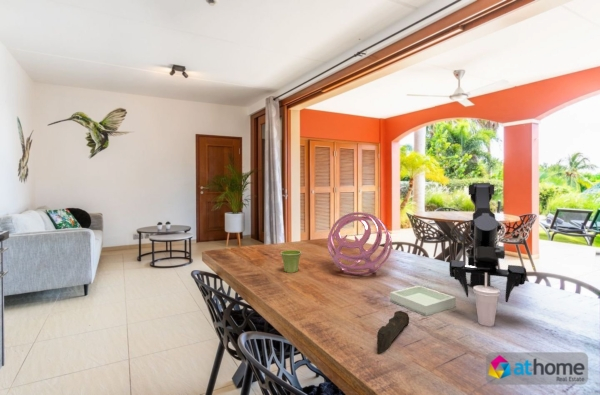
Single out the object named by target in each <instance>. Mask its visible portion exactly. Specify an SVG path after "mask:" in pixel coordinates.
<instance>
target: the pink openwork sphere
mask: <svg viewBox="0 0 600 395" xmlns="http://www.w3.org/2000/svg"><path fill="white" fill-rule="evenodd" d="M356 221H358V222H360V223H361V224H362V225H363V227H364V232H363V235H362V237H360V238H359V239H358V238H357V236H356V235H354V240H355V241H354V242H350V241H347V240H346V239H347V238H348V234H346V235H344V237H342V236H341V230H342V228H344V227H346V225H348V224H350V223H353V222H356ZM368 221H369V222H373V224H374V226H375V228H376V238H375V241H374V243H373V244H372V246H371V247H370V248H369V249H365V248H364V245H365V244H366V243H367V242H368V241H369V239H370V236H371V234H372V233H371V232H372V228H371V225H370V223H369V222H368ZM334 229H335V230H334ZM382 229H383V230H384V234H385V241H384V242H385V243H384V246H383V248H382V250H381V252H380V253H379V255H378V256H376V257H375V258H374V259H373V260H372V259H371V257H372V255H374V254H375V252H376V251H377V250H378V248H379V247H380V245H381V242H382V239H383V238H382V237H383V230H382ZM334 240H336V241H337V243H338V245H337V247H336V246H335V244H334ZM392 246H393V242H392V236H391V233H390V231H389V230H388V229H387V226H386V225H385V224H384V222H383V221H382V220H381V219H380V218H379V217H377V216H376V215H374V214H371V213H368V212H361V211H358V212H357V211H355V212H349V213H347V214H344V215H342V216H341V217H340V218H338V219H337V220H336V221H335V222H334V224H333V225H332V227H331V228H330V230H329V233H328V237H327V250H328V254H329V255H330V257H331V259H332V262H333V263H334V264H335V266H336V267H337V268H338V269H340V270H341V271H343V272H344V273H346V274H349V275H353V276H365V275H369V274H375V273H377V271H378V270H379V269H380V268H382V267H383V266H384V265H385V264H386V263H387V261H388V259H389V258H390V256H391V252H392V249H393V247H392ZM342 248H345V249H349V250H353V249H358V250H359V252H360V253H359V254H353V255H351V254H345V253H343V252H342ZM383 258H384V259H383ZM340 259H342V260H344V261H349V262H353V263H352V264H345V263H343V262H341V261H340ZM382 259H383V261H381V260H382ZM361 261H364V262H365V263H364V264H362V265H359V263H360V262H361ZM380 261H381V262H380ZM378 263H379V264H378ZM377 264H378V265H377ZM376 265H377V266H376ZM363 270H367V271H363ZM354 271H355V272H354ZM357 271H363V272H357Z"/></svg>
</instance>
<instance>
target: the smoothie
mask: <svg viewBox="0 0 600 395" xmlns="http://www.w3.org/2000/svg"><path fill="white" fill-rule="evenodd" d="M490 286H491V285H490ZM490 286H487V273H486V272H485V286H483V285H478V286H474V287H472V288H473V290H472V292H474V298H475V304H476V305H475V306H476V314H477V322H478V324H480V325H482V326H484V327H494V326H495V320H496V313H497V307H498V301H499V296H500V295H501V291H500V289H499V288H497V287H495V286H493V287H490Z"/></svg>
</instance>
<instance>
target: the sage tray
mask: <svg viewBox="0 0 600 395" xmlns="http://www.w3.org/2000/svg"><path fill="white" fill-rule="evenodd" d="M389 297H390V298H389V299H390V300H389V301H390V302H391V303H394V304H395V305H398V306H401V307H403V308H405V309H407V310H409V311H412V312H415V313H417V314H420V315H422V316H424V317H427V316H431V315H434V314H438V313H440V312H443V311H447V310H449V309H453V308H456V300H457V299H456V296H454V295H450V294H447V293H443V292H441V291H437V290H434V289H432V288H428V287H425V286H422V285H420V284H419V285H415V286H411V287H407V288H403V289H399V290H394V291H390V292H389Z"/></svg>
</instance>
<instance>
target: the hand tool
mask: <svg viewBox="0 0 600 395" xmlns="http://www.w3.org/2000/svg"><path fill="white" fill-rule="evenodd" d="M409 324H410V316H409V314H408V313H407V312H406V311H403V310H396V311H395V312H394V315H393V317H391V318H389V319H388V322H387V323H386V324H385V325H383V326H381V327H380V328H379V329H378V330H377V335H376V339H377V340H376V344H377V348H376V349H377V351H376V352H377V354H381V353H383V352H385V351H386V350H388V348H390V347H391V345H392V342H393V340H394V339H395V338H396V337H397V336H398V335H399V333H400V332H401V331H402V330H403V329H404V327H405V326H409Z"/></svg>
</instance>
